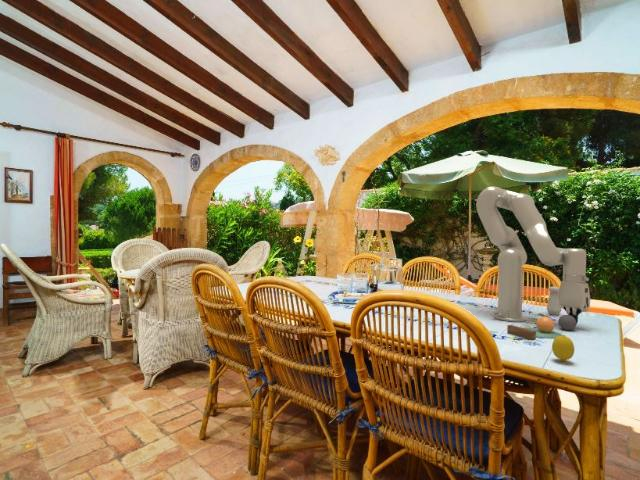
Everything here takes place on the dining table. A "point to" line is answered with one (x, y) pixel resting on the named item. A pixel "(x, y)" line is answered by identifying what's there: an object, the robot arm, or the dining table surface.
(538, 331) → the green mark
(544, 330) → the orange ball
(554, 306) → the salt shaker
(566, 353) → the lemon
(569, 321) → the charcoal ball
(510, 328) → the stopper wall
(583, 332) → the dining table surface
